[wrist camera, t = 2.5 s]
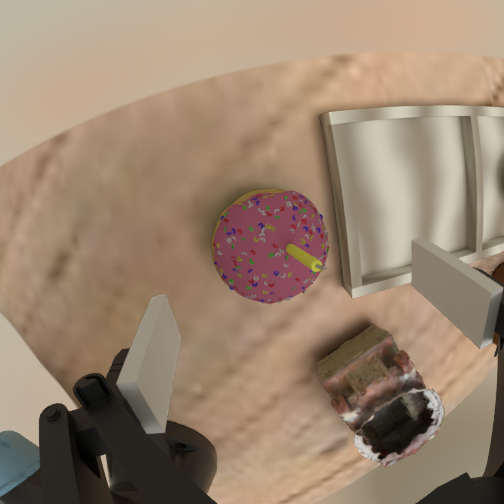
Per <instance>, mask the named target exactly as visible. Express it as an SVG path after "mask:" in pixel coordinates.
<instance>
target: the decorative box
mask: <svg viewBox="0 0 504 504" xmlns="http://www.w3.org/2000/svg"><path fill="white" fill-rule="evenodd" d="M317 368H318V376H319V380H320V382H321V384H322V386H323V387H324V389H325V390H326V391H327V392H328V393H329V395H330V396H331V398H332V399H333V401H331V404H332V407H333V408H334V411H335V412H336V414H337V415H338V416H340V417H341V418H342V419H343V421H346V423H347V425H349V428H350V429H351V430H352V431H354V432H355V439H354V441H355V442H354V445H355V446H356V448H359V450H358V451H359V452H364V454H361V455H362V456H365V457H366V459H367V458H369V459H371V460H373V461H375V462H381V464H383V466H384V467H389V466H391V465H393V464H395V463H396V462H398V461H399V460H401V459H404V458H406V457H407V456H410V455H412V454H415V453H416V452H417V451H418V450H419V449H420V448H421V447H422V446H423V445H424V444H425V443H426V442H427V441H428V440H430V439H432V438H433V437H435V436H436V434H437V433H438V431H439V430H440V428H439V427H440V426H441V423H442V421H443V418H444V416H445V415H444V414H445V412H444V406H443V405H442V402H441V401H442V399H441V398H440V396H439V395H438V394H437V392H435V391H434V390H433V389H432V390H429V389H426V386H425V384H424V382H423V380H422V377H421V376H420V374H419V373H418V372H417V371H416V370H415V365H414V364H413V363H412V362H411V360H410V357H408V354H407V353H406V352H404V351H403V350H402V351H399V350H398V348H397V345H396V343H395V342H394V340H393V338H392V335H391V334H390V333H389V332H388V331H386V330H384V329H381V328H380V327H378V326H376V325H375V324H373V325H370V327H368V328H367V329H365V330H364V331H363V332H361V333H360V334H359V335H357V336H356V337H354V338H353V339H351V340H347V341H345V342H344V343H343V344H341V346H340V347H339V348H338V349H337V350H335V351H334V352H333V353H331V354H330V355H328V356H326V357H325V358H323V359H322V360H320V361H319V362H318V363H317Z"/></svg>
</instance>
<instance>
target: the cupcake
mask: <svg viewBox="0 0 504 504" xmlns="http://www.w3.org/2000/svg"><path fill="white" fill-rule="evenodd" d="M321 216H322V215H321V214H320V213H319V212H318V211H317V209H316V207H315V206H314V205H313V203H312V202H311V201H310V199H308V198H306V197H305V196H303V195H301V194H300V193H297V192H295V191H284V190H280V189H273V188H271V189H262V190H254V191H250V192H248V193H246V194H244V195H242V196H241V197H240V198H238V199H237V200H236V201H234V202H233V203H232V204H231V205H230V206H229V207H228V208H226V209H225V210H224V211H223V212H222V213H221V215H220V217H219V220H218V222H217V225H216V227H215V230H214V233H213V236H212V255H213V262H214V265H215V267H216V269H217V271H218V273H219V275H220V277H221V278H222V279H223V281H224V282H225V283H226V284H227V285H228V286H229V287H230V289H231V290H235V291H236V292H237V293H238V294H240V295H241V296H243V297H245V298H248V299H251V300H254V301H258V302H262V303H268V304H270V303H275V302H281V301H282V300H290V298H291V297H293V296H295V295H297V294H299V293H301V292H303V293H305V291H304V290H305V289H306V288H308V287H309V286H310V285H311V284H313V282H314V281H315V279H316V278H317V277H318V275H319V273H320V272H321V271H322V270H326V269H327V268H326V267H324V266H325V265H326V264H325V262H326V258H327V254H328V249H329V247H328V232H327V230H326V228H325V225H324V223H323V220H322V218H323V216H322V217H321ZM324 264H325V265H324Z"/></svg>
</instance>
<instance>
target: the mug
mask: <svg viewBox="0 0 504 504" xmlns="http://www.w3.org/2000/svg"><path fill="white" fill-rule="evenodd" d="M492 277H494V279H497V280H498V281H500V282H501V283H503V284H504V264H502V265H501V266H500V267H499V268H498V269H497V270H496V272H495V273H494V275H493V276H492ZM498 340H499V335H498V334H497V333H496V332H494V336H493V340H492V342H493V343H494V344H496V345H497V344H498Z"/></svg>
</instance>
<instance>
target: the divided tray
mask: <svg viewBox="0 0 504 504" xmlns="http://www.w3.org/2000/svg"><path fill="white" fill-rule="evenodd" d="M320 120H321V126H322V131H323V137H324V142H325V148H326V154H327V160H328V166H329V172H330V179H331V185H332V192H333V199H334V206H335V214H336V222H337V230H338V239H339V247H340V257H341V267H342V278H343V287H344V289H345V290H346V291H347V292H348V294H349V295H350V296H351V298H352V299H354V298H357V297H361V296H365V295H368V294H372V293H375V292H379V291H383V290H386V289H390V288H393V287H396V286H400V285H403V284H407V283H410V282H411V278H412V245H411V240H414V239H418V238H422V237H423V238H425V239H426V240H428V241H430V242H432V243H433V244H435V245H437V246H438V247H440V248H442V249H443V250H445V251H447V252H448V253H450V254H452V255H453V256H455V257H457V258H458V259H460V260H462V261H463V262H465V263H466V264H469V263H472V262H475V261H478V260H481V259H483V258H486V257H489V256H492V255H495V254H497V253H500V252H503V251H504V108H502V107H485V106H453V105H432V106H398V107H381V108H367V109H355V110H344V111H335V112H328V113H324V114H321V115H320Z"/></svg>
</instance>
